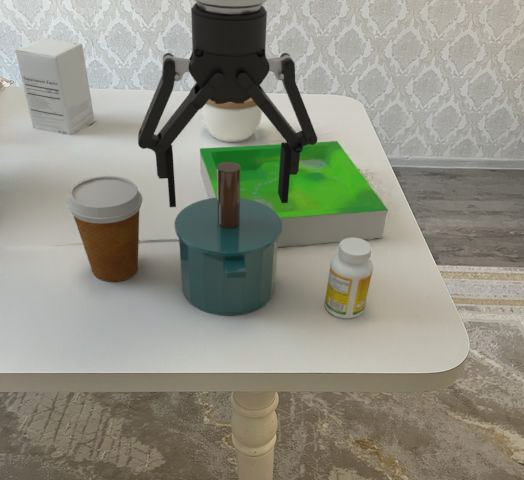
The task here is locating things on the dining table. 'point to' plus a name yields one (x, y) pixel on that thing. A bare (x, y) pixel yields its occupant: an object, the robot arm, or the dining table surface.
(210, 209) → the lid
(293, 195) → the tray
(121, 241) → the disposable coffee cup
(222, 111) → the lidded bowl
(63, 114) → the rectangular carton
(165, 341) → the dining table surface
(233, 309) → the pot
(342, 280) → the supplement bottle
